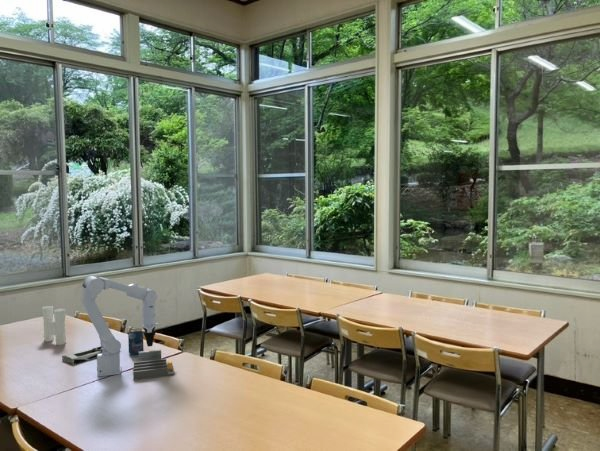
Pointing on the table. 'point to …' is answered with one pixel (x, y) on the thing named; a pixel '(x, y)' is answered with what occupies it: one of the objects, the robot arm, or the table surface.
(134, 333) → the soda can
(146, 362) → the rack
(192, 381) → the table surface
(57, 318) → the binoculars
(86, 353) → the graphics card
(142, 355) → the panel
